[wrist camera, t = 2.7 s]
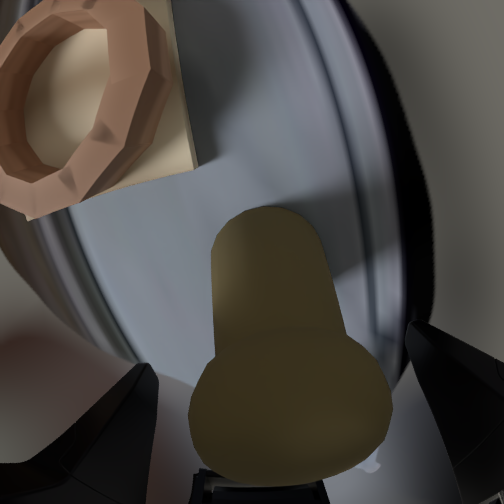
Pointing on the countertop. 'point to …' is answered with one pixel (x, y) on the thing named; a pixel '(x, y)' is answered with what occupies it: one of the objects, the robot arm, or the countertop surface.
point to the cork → (282, 362)
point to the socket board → (90, 102)
